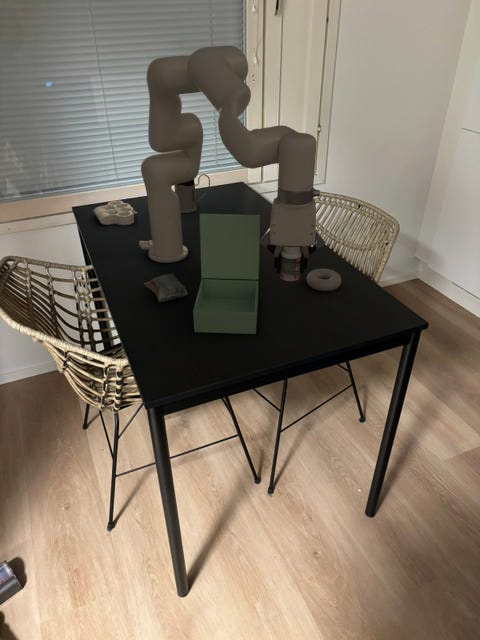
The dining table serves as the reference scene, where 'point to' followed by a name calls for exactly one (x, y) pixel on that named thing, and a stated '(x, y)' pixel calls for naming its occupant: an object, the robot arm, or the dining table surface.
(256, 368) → the dining table surface
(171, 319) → the dining table surface
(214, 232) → the lunchbox lid
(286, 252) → the pill bottle
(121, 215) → the beige paint palette tray
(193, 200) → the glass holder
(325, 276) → the donut
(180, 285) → the packaged food
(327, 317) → the dining table surface
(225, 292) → the box
